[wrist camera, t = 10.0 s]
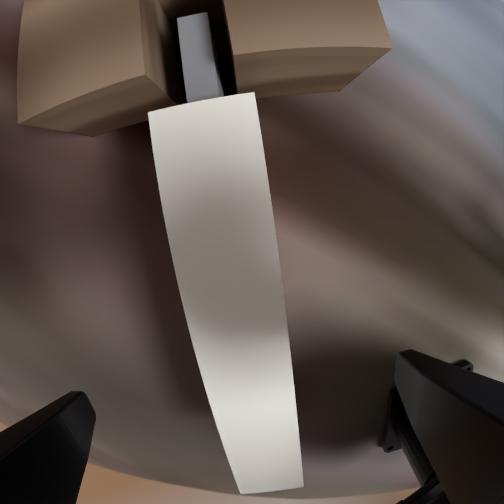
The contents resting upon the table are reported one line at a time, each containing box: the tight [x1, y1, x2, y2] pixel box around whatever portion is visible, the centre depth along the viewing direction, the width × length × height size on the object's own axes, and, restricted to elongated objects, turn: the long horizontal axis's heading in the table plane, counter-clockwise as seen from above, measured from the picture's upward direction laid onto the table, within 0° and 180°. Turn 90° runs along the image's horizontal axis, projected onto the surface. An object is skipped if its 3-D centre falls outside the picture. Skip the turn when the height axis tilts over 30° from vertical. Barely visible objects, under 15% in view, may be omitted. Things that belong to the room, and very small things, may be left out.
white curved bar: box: [148, 12, 304, 494], centre depth 12 cm, size 20×3×6 cm, turn 9°
